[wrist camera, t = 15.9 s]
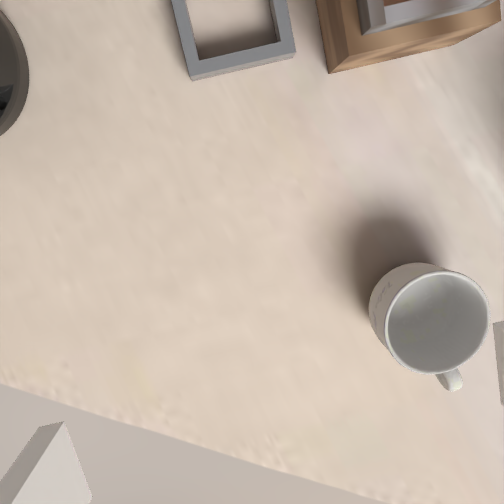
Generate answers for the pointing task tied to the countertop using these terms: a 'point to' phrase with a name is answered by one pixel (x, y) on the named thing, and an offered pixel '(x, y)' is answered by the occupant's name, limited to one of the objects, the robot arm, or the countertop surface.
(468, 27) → the walnut stand
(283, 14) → the gray square frame
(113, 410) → the countertop surface
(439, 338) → the teacup
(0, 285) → the countertop surface
